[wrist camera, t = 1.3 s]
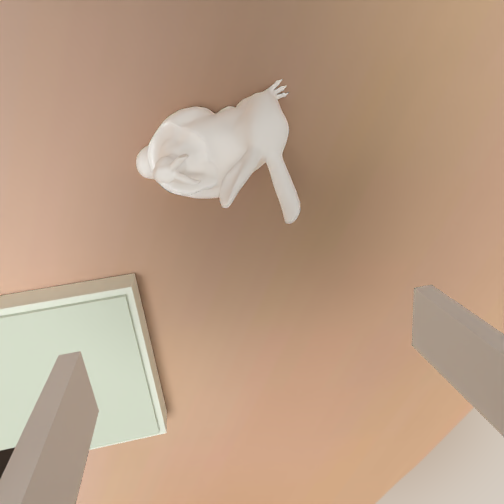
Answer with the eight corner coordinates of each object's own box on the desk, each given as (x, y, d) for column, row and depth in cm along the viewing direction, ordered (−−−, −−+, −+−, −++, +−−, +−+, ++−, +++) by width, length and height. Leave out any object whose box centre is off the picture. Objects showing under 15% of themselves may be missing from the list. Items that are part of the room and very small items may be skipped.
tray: (-85, 309, 30) (-112, 330, 27) (134, 273, 32) (130, 289, 29) (-19, 451, 35) (-36, 481, 32) (167, 411, 37) (166, 436, 34)
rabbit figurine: (285, 77, 29) (334, 64, 20) (307, 177, 32) (360, 205, 23) (124, 125, 28) (100, 135, 19) (162, 224, 31) (156, 272, 22)
